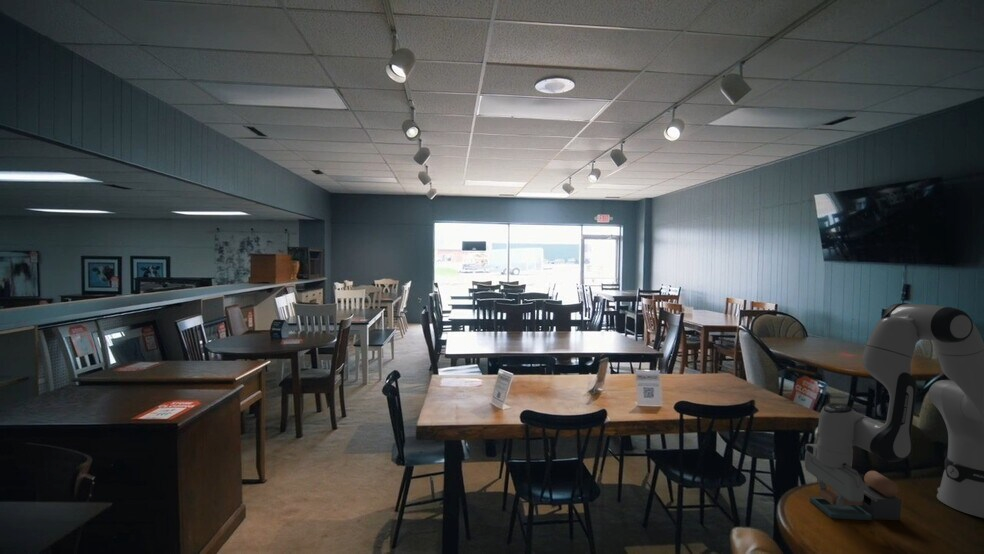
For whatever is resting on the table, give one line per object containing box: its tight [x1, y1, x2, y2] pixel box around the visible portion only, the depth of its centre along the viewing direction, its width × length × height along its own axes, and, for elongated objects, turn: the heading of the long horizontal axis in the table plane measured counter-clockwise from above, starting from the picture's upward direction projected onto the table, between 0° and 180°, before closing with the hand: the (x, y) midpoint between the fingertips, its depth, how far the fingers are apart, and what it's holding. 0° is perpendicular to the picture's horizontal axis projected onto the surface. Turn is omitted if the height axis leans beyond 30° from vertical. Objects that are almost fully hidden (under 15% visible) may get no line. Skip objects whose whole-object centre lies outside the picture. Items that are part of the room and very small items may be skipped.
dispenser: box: [858, 470, 902, 521], centre depth 138 cm, size 8×9×11 cm
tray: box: [809, 496, 872, 521], centre depth 138 cm, size 12×9×2 cm
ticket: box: [820, 489, 862, 506], centre depth 138 cm, size 9×5×2 cm, turn 89°
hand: (830, 499), depth 138 cm, fingers closed on ticket, 5 cm apart
